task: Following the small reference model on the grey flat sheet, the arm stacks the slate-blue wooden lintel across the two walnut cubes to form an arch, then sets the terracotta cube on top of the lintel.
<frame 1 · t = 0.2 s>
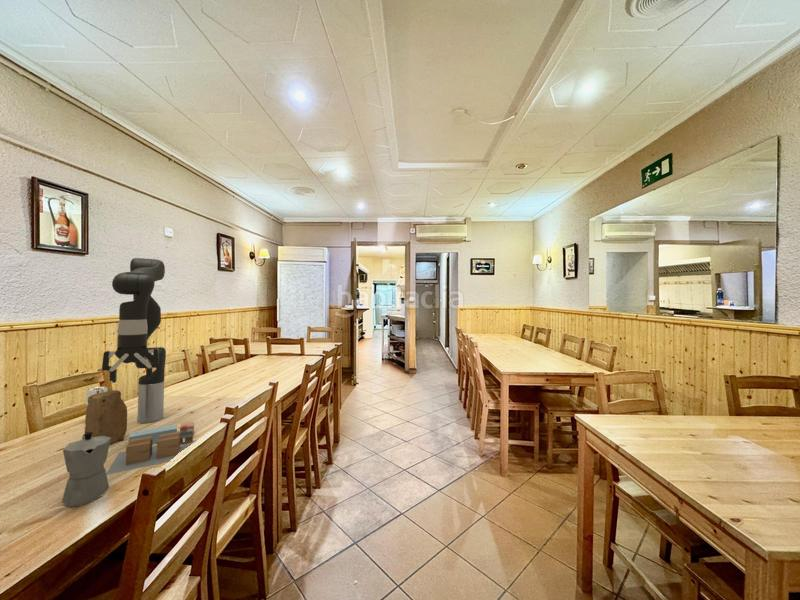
hand: (131, 380, 101), 28 cm above the table, fingers open, 8 cm apart
lintel: (153, 443, 116), on the table
grey flat sheet: (154, 456, 106), on the table
terracotta cube: (186, 436, 121), on the table
coffeepot: (86, 495, 84), on the table
beer glass: (96, 422, 134), on the table
block: (106, 444, 114), on the table
base cube 1: (139, 458, 103), point 1 cm above the table, touching grey flat sheet
base cube 2: (168, 452, 107), point 1 cm above the table, touching grey flat sheet
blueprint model: (183, 443, 114), resting on grey flat sheet
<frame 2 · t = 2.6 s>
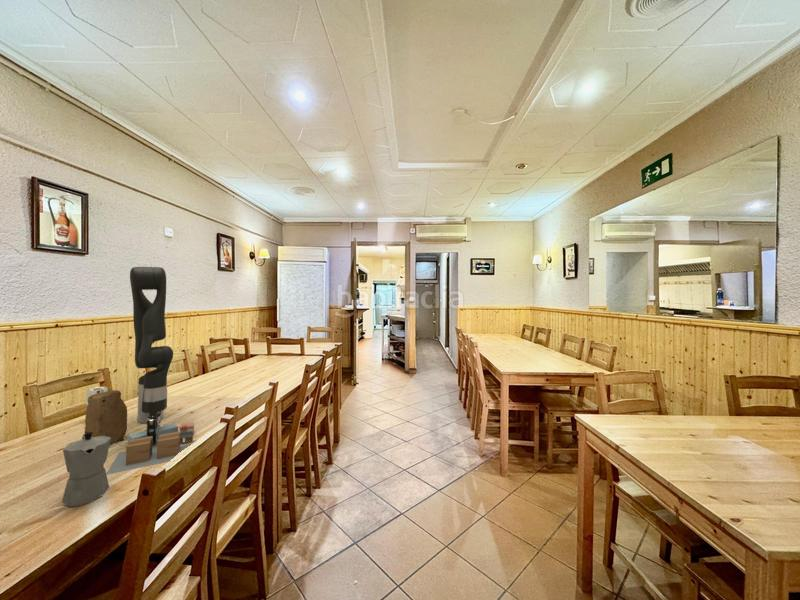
hand: (153, 440, 116), 1 cm above the table, fingers open, 6 cm apart
lintel: (153, 443, 116), on the table, touching gripper
everything else where it was.
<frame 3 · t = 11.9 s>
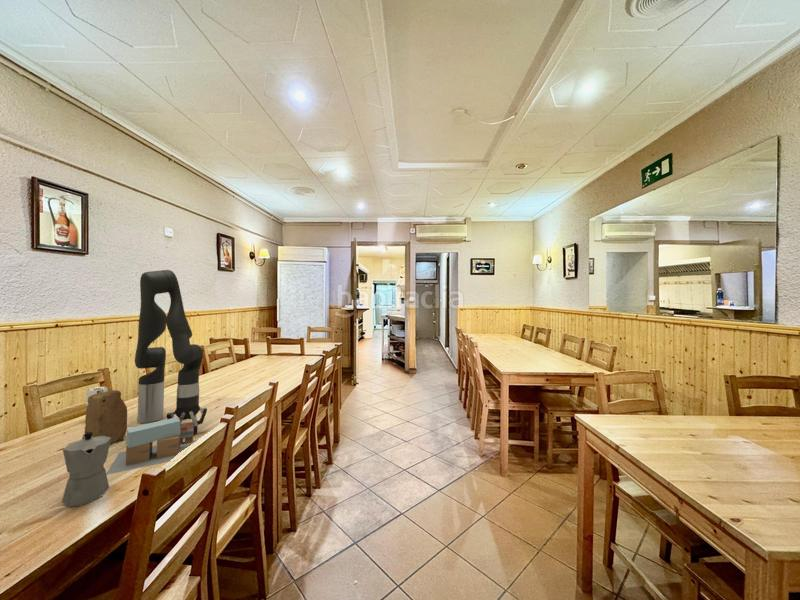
hand: (186, 435, 121), 0 cm above the table, fingers closed on terracotta cube, 4 cm apart
lintel: (154, 438, 105), point 7 cm above the table, touching base cube 2, base cube 1
terracotta cube: (186, 436, 121), on the table, touching gripper
base cube 1: (139, 458, 103), point 1 cm above the table, touching lintel, grey flat sheet
base cube 2: (168, 452, 107), point 1 cm above the table, touching lintel, grey flat sheet
everything else where it was.
when the fingers open (13 cm above the table, at t = 17.8 s): terracotta cube drops 1 cm, resting on lintel.
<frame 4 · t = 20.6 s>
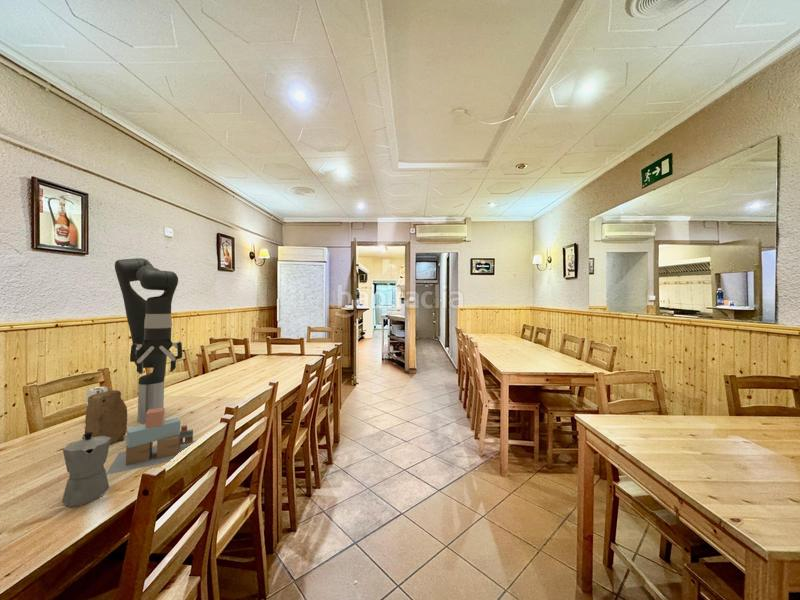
hand: (156, 372, 105), 30 cm above the table, fingers open, 8 cm apart
lintel: (154, 438, 105), point 7 cm above the table, touching base cube 2, base cube 1, terracotta cube
terracotta cube: (154, 424, 105), point 12 cm above the table, touching lintel
everything else where it was.
at the end: lintel inside the target area (0.3 cm from its centre), point 6.6 cm above the table; terracotta cube inside the target area (0.1 cm from its centre), point 11.6 cm above the table; terracotta cube tilted 0° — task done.
